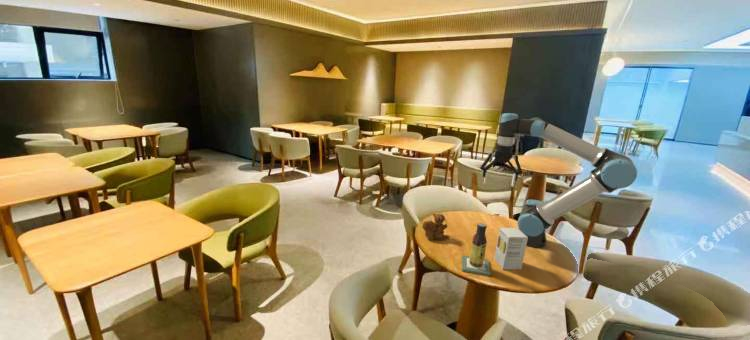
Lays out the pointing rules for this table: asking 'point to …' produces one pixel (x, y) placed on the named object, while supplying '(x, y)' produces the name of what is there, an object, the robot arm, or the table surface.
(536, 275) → the table surface
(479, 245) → the sauce bottle
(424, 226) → the stuffed squirrel
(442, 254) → the table surface
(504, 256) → the supplement box
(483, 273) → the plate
